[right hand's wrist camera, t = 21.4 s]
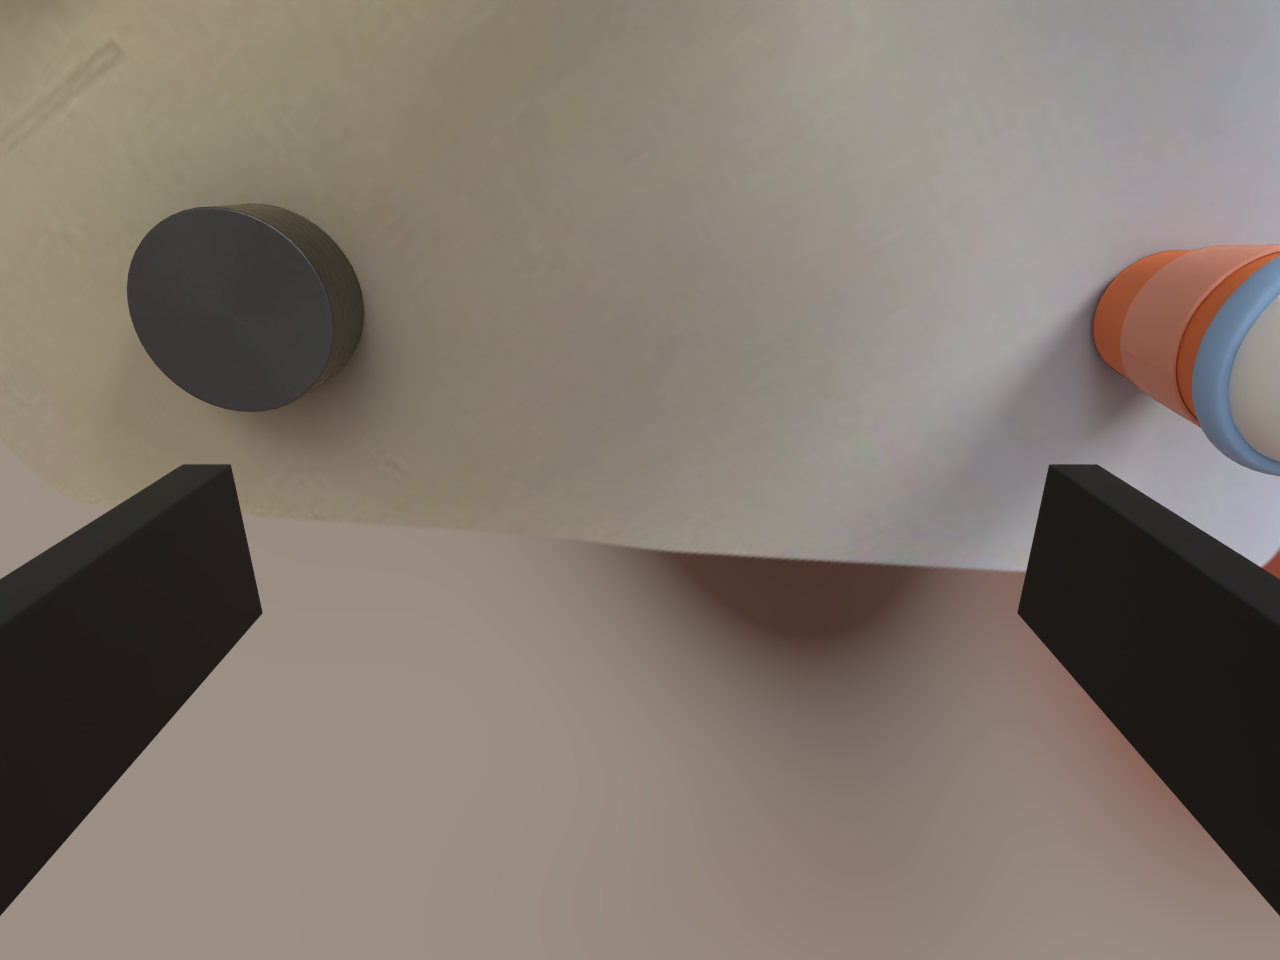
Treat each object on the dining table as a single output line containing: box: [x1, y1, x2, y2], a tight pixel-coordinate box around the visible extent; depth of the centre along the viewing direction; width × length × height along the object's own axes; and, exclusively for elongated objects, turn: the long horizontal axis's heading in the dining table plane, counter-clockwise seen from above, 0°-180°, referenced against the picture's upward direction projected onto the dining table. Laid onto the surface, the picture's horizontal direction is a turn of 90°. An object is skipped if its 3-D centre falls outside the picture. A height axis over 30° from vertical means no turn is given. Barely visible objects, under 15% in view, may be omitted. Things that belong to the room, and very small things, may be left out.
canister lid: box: [127, 204, 363, 412], centre depth 35 cm, size 9×9×4 cm
